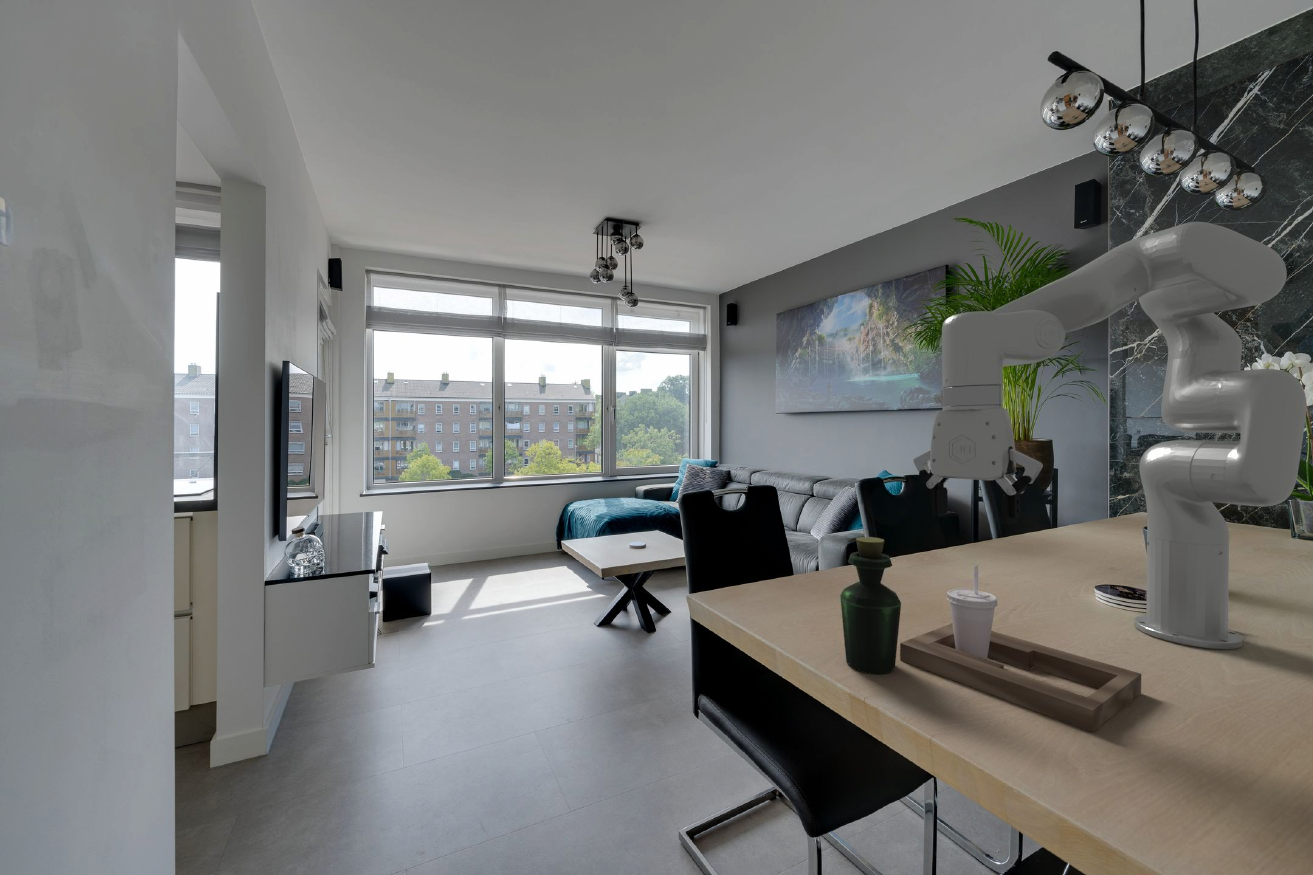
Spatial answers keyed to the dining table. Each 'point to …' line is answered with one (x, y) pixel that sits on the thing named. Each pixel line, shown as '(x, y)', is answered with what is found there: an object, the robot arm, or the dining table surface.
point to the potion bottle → (870, 611)
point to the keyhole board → (990, 677)
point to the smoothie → (972, 618)
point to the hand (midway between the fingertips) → (973, 518)
